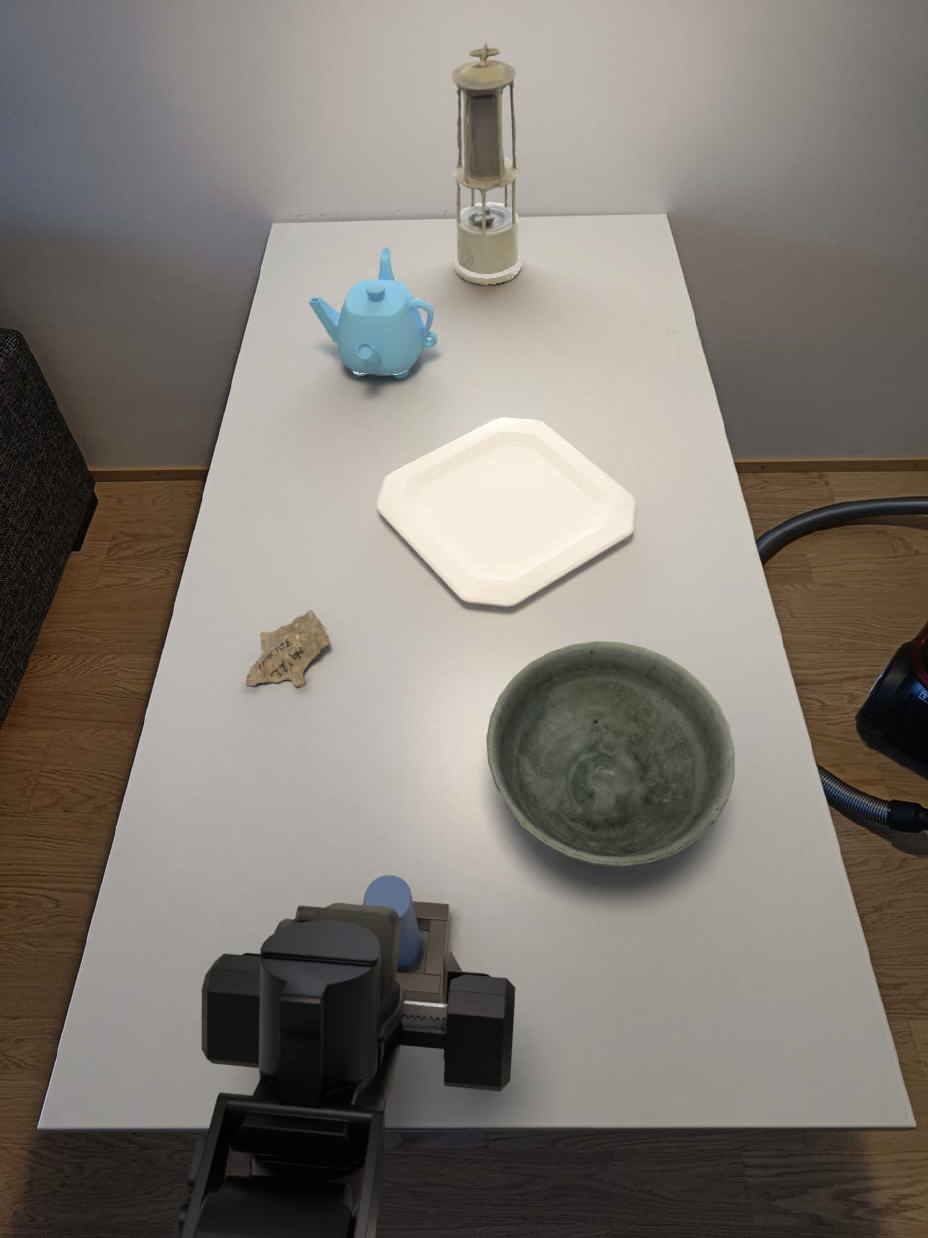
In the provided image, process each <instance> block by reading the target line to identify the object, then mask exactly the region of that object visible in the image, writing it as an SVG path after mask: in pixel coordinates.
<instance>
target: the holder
mask: <svg viewBox="0 0 928 1238" xmlns="http://www.w3.org/2000/svg"><path fill="white" fill-rule="evenodd" d="M413 904H414V909H415V914H416V918H417V923H418V928H419V931H420V930H421V931H428V935H427V943H426V952H425V954H426V955H425V960H424V968H423V973H420V972H419V973H417V972H413V973H408V972H397V976H396V981H397V982H398V983H399V984H400V988H405V1000H406V1001H417V1002H428V1003H439V1004H442V1002H443V962H444V955H445V952H446V951H448V941H449V931H450V922H451V913H450V906H449V905H450V904H449V903H440V902H439V903H438V902H428V901H427V902H426V901H415V900H413ZM362 905H364V902H363V904H362Z"/></svg>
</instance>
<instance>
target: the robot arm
mask: <svg viewBox="0 0 928 1238" xmlns="http://www.w3.org/2000/svg"><path fill="white" fill-rule="evenodd" d="M295 913H296V914H295V918H284V919H282V920H280V922H279V923H278V924H277V926H276V928H275V930H274V933H272V934H271V935H269V936H268V937H267V938H266V940H264V941H263V943H262V944H261V947H260V953H257V952H254V953H253V952H245V953H242V954H236V953H235V954H234V953H223V954H221V955H220V956H219V957H218V958H217V959H216V960H214V962H213V963H212V965H211V966H210V967H209V968H208V970H207V972H206V973H205V975H204V979H203V983H202V986H201V1044H200V1045H201V1051H202V1053H203V1055H204V1057H205V1058H206V1060H207V1061H208V1062H210V1063H211V1064H214V1065H225V1066H232V1067H233V1066H234V1067H245V1068H253V1069H258V1075H259V1076H258V1077H259V1080H258V1082H257V1085H256V1086H255V1089H254V1091H253V1093H252V1094H243V1093H242V1094H241V1093H232V1092H231V1093H230V1092H219V1093H218V1094H217V1096H216V1101H215V1103H214V1106H213V1107H214V1108H213V1111H212V1116H211V1118H210V1123H209V1126H208V1130H207V1134H206V1137H198V1136H197V1137H195V1138H194V1142H193V1143H194V1144H193V1148H192V1153H191V1157H190V1161H189V1166H188V1171H187V1175H186V1178H185V1179H186V1180H185V1184H184V1189H183V1193H182V1197H181V1202H180V1207H179V1210H178V1211H179V1212H178V1215H177V1221H176V1224H175V1228H174V1233H173V1238H376V1234H377V1233H376V1232H377V1223H378V1214H379V1203H380V1193H381V1184H382V1175H383V1163H384V1154H385V1141H386V1108H387V1104H388V1101H389V1096H390V1093H391V1092H392V1088H393V1084H394V1076H395V1073H396V1068H397V1066H398V1065H397V1064H398V1061H399V1057H400V1052H401V1049H402V1046H403V1047H405V1046H406V1047H416V1048H426V1049H435V1050H436V1049H437V1050H443V1061H444V1063H443V1064H444V1067H443V1085H444V1087H448V1088H449V1087H451V1088H461V1089H471V1090H480V1091H492V1092H502V1090H503V1089H505V1087H506V1086H507V1085H509V1084H510V1083H511V1079H512V1078H511V1077H512V1076H511V1075H512V1059H513V1044H514V1043H513V1042H514V1023H515V1005H516V986H515V985H514V984H513V983H512V982H511V981H510V980H509V979H508V978H507V977H499V976H498V977H497V976H491V975H490V974H489V973H485V972H474V971H463V969H462V968H461V966H460V965H459V963H458V962H457V959H456V958H455V956H454V954H453V952H452V951H448V950H447V951H446V952H445V955H444V962H443V991H442V1003H433V1002H422V1001H411V1000H405V988H400V984H399V983H398V982H397V981H396V976H397V964H398V952H399V940H400V932H401V920H400V917H399V915H398V913H397V912H396V911H395V910H394V909H392V908H390V907H385V906H368V905H363V904H355V903H346V902H334V903H331V904H329V905H326V906H324V907H321V906H312V905H311V906H310V905H298V906H297V909H296V912H295ZM230 1150H232V1152H234V1153H239V1154H249V1170H250V1174H249V1173H240V1172H231V1173H229V1174H228V1175H226V1170H227V1164H228V1158H229V1152H230ZM356 1210H357V1214H356V1216H355V1215H354V1216H353V1214H354V1212H355V1211H356Z"/></svg>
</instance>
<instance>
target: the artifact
mask: <svg viewBox="0 0 928 1238" xmlns="http://www.w3.org/2000/svg"><path fill="white" fill-rule="evenodd" d="M259 636H260V650H261V653H260V657H259V658H258V659H257V661H256V662H255V663H254V664H253V665H252V666H251V667H250V668H249V671H248V674H247V675H246V677H245V678H246V679H245V680H246V681H245V682H246V683H245V684H246V686H249V687H255V686H256V685H258V684H265V683H275V684H279V683H280V682H282V681H286V680H290V681H291V683H292V684H293V685H294V686H295V687H296V688H302V687H304V686H305V685H306V678H305V676H304V673H305V670H306V669H307V668H308V666H309V664H310V663H311V662H312V661H313V660H314V659H316V658H317V656H318V655H319V654H320V653H321V650H322V649H324V648H326V647H327V646H329V645H330V644H331V642H330V637H329V636H328V632H327V631H326V628H325V625H324V624H323V623H322V622H321V620H319V618H318V617H317V615H316V614H315V613H314V611H313V610H312V609H308V610H307V612H305V614H303V615H300V616H297V617H295V618H294V619H293V621H292V622H291V623H288V624H286V625H282V626H280V627H279V628H277V629H275V630H274V631H271V632H270V631H269V632H268V631H266V630H265V631H261V632H260V634H259Z"/></svg>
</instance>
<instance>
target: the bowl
mask: <svg viewBox="0 0 928 1238" xmlns="http://www.w3.org/2000/svg"><path fill="white" fill-rule="evenodd" d="M731 731H732V730H731V726H730V724H729V722H728V721H727V718H726V716H725V714H724V711H723V709H722V707H721V704H719V702H718V701H717V699H716V698H715V697H714V695H712V694H711V692H710V690H708V688H707V687H706V685H704V684H703V683H702V682H701V681H700V680H699V679H698V678H696V676H694V675H693V674H692V673H691V672H690V671H689V670H688V669H686V668H685V667H683V666H682V665H680V664H678V663H677V662H675V661H674V660H673V659H671V658H670V657H668V656H666V655H663V654H661V653H659V652H655V651H653V650H651V649H648V648H646V647H644V646H639V645H633V644H628V643H624V642H620V641H599V640H596V641H587V642H580V643H574V644H570V645H566V646H564V647H561V648H558V649H555V650H552V651H549V652H548V653H545V654H544V655H541V656H540V657H537V658H536V659H534V660H533V661H531V662H529V663H528V664H527V665H526V666H525V667H523V668H522V669H521V670H520V671H519V672H518V673H516V674H515V675H514V676H513V677H512V678H511V680H510V681H509V682H508V684H507V685H506V687H505V688H504V689H503V691H501V692H500V694H499V695H498V698H497V700H496V702H495V705H494V706H493V709H492V711H491V714H490V716H489V720H488V727H487V732H486V738H485V740H486V741H485V743H486V753H487V763H488V766H489V770H490V773H491V776H492V779H493V782H494V785H495V787H496V789H497V790H498V794H500V797H501V798H502V800H503V801H502V802H503V803H504V804H505V806H506V808H507V809H508V810H509V811H510V812H511V814H512V815H513V817H515V819H516V820H517V822H519V824H520V825H521V827H523V828H524V829H525V830H527V831H528V832H529V833H530V834H531V835H533V836H534V837H535V838H537V839H538V840H539V841H540V842H541V843H542V844H544V845H545V846H546V847H547V848H549V849H551V850H553V851H555V852H557V853H559V854H561V855H562V856H565V857H566V858H569V859H571V860H574V861H578V862H581V863H583V864H586V865H587V864H588V865H590V866H594V867H595V866H596V867H609V868H621V867H630V866H636V865H643V864H650V863H653V862H656V861H659V860H662V859H665V858H668V857H670V856H671V857H672V856H674V855H676V854H678V853H680V852H681V851H683V850H684V849H686V848H688V847H689V846H692V844H694V843H695V842H698V841H699V840H700V839H701V838H702V836H704V834H705V833H706V832H708V831H709V830H710V828H711V827H712V826H713V825H714V824H715V823H716V822H717V820H718V819H719V817H720V815H721V813H722V812H723V810H724V808H725V806H726V804H727V803H728V801H729V799H730V795H731V791H732V788H733V784H734V781H735V775H736V774H735V773H736V771H735V770H736V768H735V767H736V766H735V765H736V764H735V762H736V751H735V750H736V749H735V745H734V741H733V737H732V732H731Z"/></svg>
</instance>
